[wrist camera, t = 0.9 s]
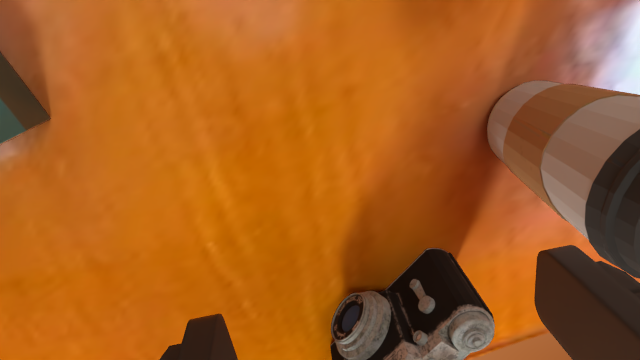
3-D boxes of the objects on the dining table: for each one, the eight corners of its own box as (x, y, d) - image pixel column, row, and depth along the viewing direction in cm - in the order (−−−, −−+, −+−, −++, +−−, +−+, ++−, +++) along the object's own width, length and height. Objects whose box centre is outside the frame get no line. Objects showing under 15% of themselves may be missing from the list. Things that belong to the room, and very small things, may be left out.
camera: (407, 220, 33) (454, 302, 24) (463, 262, 35) (526, 352, 26) (295, 337, 37) (298, 447, 28) (352, 369, 39) (372, 481, 30)
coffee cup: (601, 113, 31) (855, 201, 17) (517, 193, 33) (683, 328, 19) (534, 39, 28) (769, 71, 15) (447, 130, 31) (581, 234, 17)
